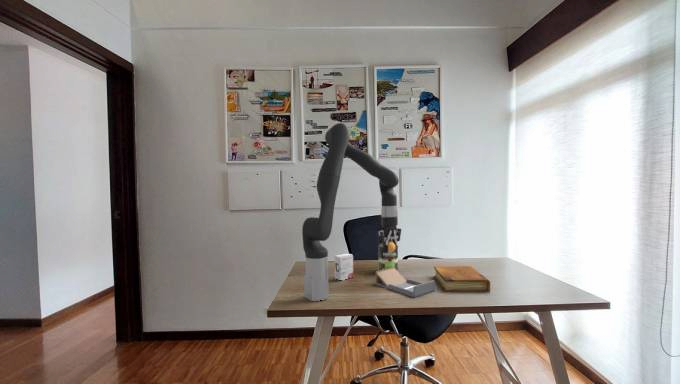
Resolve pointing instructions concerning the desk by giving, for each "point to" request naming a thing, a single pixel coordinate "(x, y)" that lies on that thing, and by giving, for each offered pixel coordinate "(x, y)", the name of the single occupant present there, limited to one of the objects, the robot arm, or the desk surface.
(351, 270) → the ink box
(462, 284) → the diary
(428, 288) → the rolling lane
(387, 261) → the coffee can
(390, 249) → the ball
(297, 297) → the desk surface
